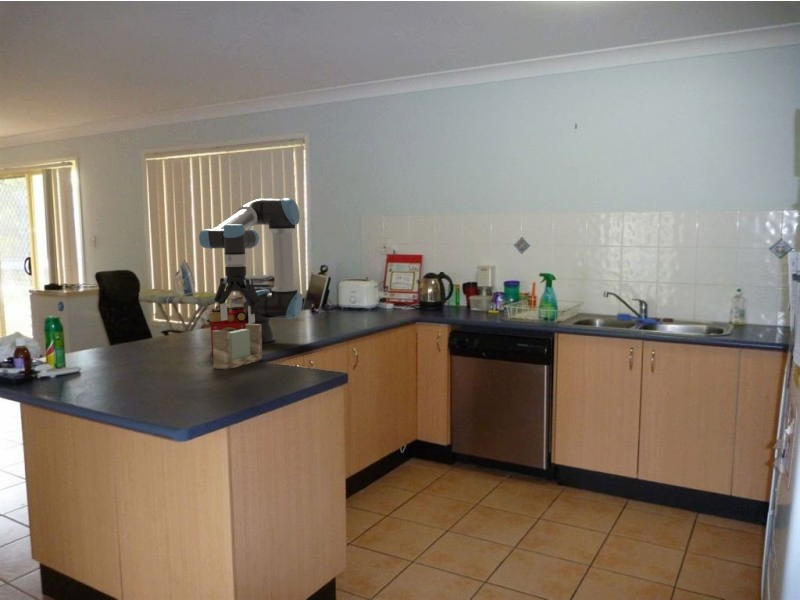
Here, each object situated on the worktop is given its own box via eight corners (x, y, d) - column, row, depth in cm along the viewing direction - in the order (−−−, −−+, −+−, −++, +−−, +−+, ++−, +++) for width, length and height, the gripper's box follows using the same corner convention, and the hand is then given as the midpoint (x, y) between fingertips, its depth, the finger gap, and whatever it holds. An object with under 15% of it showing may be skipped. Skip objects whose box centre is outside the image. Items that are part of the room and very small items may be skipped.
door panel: (244, 359, 245) (243, 328, 243) (250, 360, 243) (249, 329, 242) (226, 364, 236) (225, 332, 235) (232, 365, 235) (231, 333, 233)
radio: (210, 356, 253) (208, 307, 251) (210, 352, 263) (209, 304, 260) (250, 354, 257) (248, 306, 255) (249, 350, 267) (248, 303, 265)
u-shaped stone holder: (250, 358, 250) (248, 323, 248) (262, 359, 247) (261, 324, 246) (213, 368, 232) (212, 330, 231) (226, 369, 229) (225, 331, 228)
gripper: (203, 265, 238) (206, 320, 241) (254, 267, 226) (257, 325, 229) (217, 264, 244) (220, 317, 247) (268, 265, 233) (270, 322, 236)
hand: (237, 321), depth 238 cm, fingers open, 13 cm apart
